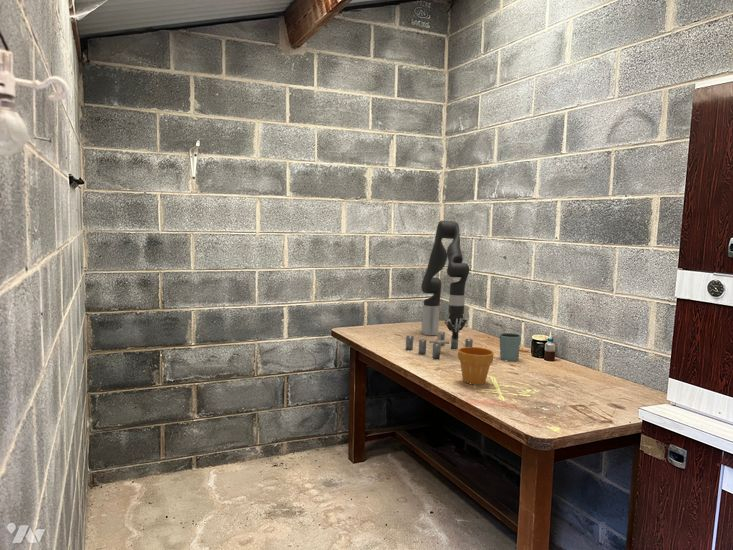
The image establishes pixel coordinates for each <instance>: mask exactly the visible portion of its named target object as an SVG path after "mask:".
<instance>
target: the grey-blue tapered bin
mask: <svg viewBox="0 0 733 550" xmlns="http://www.w3.org/2000/svg"><path fill="white" fill-rule="evenodd" d="M498 335H499V336H498V339H499V357H500V358H501V359H502V361H504V360H507V361H506V362H517V360H518V361H519V359H520V358H519V356H520V349H521V348H520V347H521V341H522V335H521V334H520V333H513V332H503V333H501V332H500V333H499V334H498ZM501 359H500V360H501Z"/></svg>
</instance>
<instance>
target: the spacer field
mask: <svg viewBox="0 0 733 550" xmlns="http://www.w3.org/2000/svg"><path fill="white" fill-rule="evenodd" d="M440 332H441V340H446V331H440ZM450 337H451V338H450V349H451V350H452V349H459V338H458V339H457V340H454V339H453V338H452V335H451V336H450ZM464 343H465V344H464V347H474V346H473V344H474V340H473V339H472V338H465V341H464ZM441 345H444V346H445V344H441ZM413 349H414V336H413V335H406V336H405V351H408V350H409V351H410V352H412V351H413ZM411 350H412V351H411ZM420 354H421V355H420ZM425 354H426V355H427V339H424V338H423V339H420V338H419V339H418V355H420V356H424V355H425ZM431 355H432V356H431V359H432V358H433V359H432V360H436V359H438V360H441V351H440V344H438V343H432V353H431Z"/></svg>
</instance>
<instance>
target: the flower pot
mask: <svg viewBox="0 0 733 550" xmlns="http://www.w3.org/2000/svg"><path fill="white" fill-rule="evenodd" d="M457 360H458V361H459V362H460V368H461V375H462V381H463V382H464V383H465V382H467V383H471V384H470V385H472V384H482V385H484V384H486V380H487V377H488V374H489V371H490V366H491V364H492V363H493V362H494V351H493V350H492V349H489V348H483V347H477V346H472V347H465V346H464V347H460V348H458V350H457ZM467 383H466V384H467ZM483 383H484V384H483Z"/></svg>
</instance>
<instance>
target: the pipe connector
mask: <svg viewBox="0 0 733 550" xmlns="http://www.w3.org/2000/svg"><path fill="white" fill-rule="evenodd" d="M441 332H442V331H438V335H437V339H429V340H428V343H429V344H434V343H438V344H440V352H441V348H442V346H441V344H444V345H450V340H446V339H445V340H441Z"/></svg>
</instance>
